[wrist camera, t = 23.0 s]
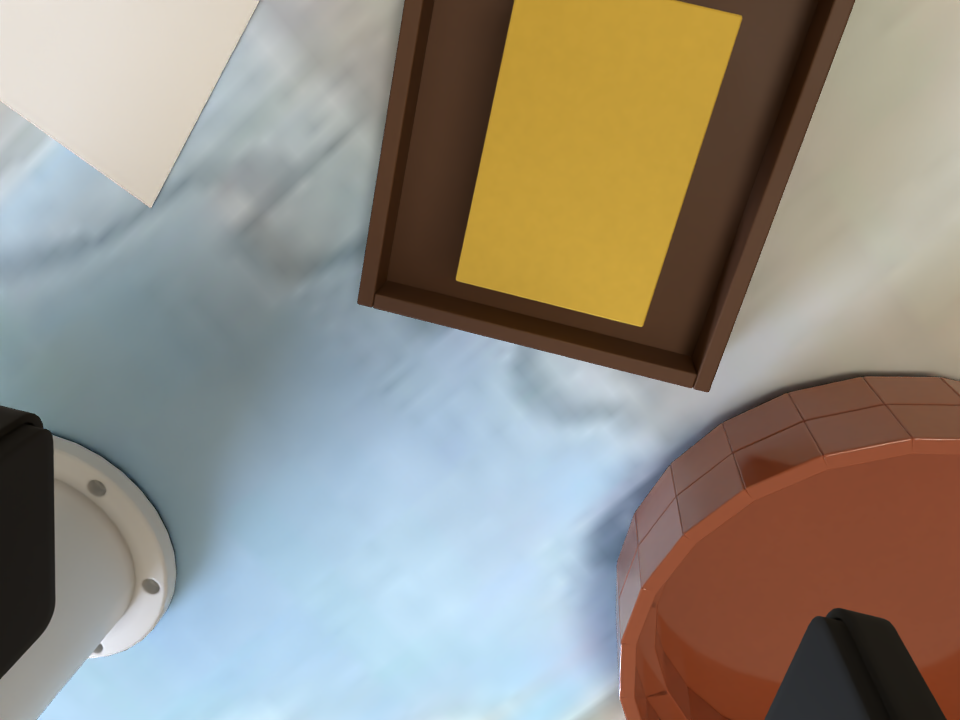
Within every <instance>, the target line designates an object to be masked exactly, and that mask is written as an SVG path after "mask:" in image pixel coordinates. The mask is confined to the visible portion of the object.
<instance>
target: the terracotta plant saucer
mask: <svg viewBox="0 0 960 720" xmlns="http://www.w3.org/2000/svg"><path fill="white" fill-rule="evenodd" d="M834 608H842V609H847V610H851V611H855V612H859V613H863V614H867V615H871V616H876V617H880V618H884V619H886V620H888V621H890V622H891V624H892V625H893V626H894V627H895V629H896V631H897V633H898V634H899V636H900V638H901V640H902V641H903V643H904V645H905V647H906V648H907V650H908V652H909V654H910V656H911V657H912V659H913V661H914V663H915V664H916V666H917V668H918V670H919V671H920V673H921V675H922V677H923V678H924V680H925V682H926V684H927V686H928V687H929V689H930V691H931V693H932V694H933V696H934V698H935V700H936V701H937V703H938V705H939V707H940V708H941V710H942V712H943V714H944V716H945V717H946V719H947V720H960V382H959V381H955V380H951V379H947V378H943V377H940V378H939V377H879V376H864V377H863V378H862V377H857V378H853V379H848V380H843V381H839V382H834V383H829V384H825V385H820V386H815V387H811V388H806V389H802V390H797V391H792V392H789V394H788V393H785V394H783V395H781V396H779V397H776V398H774V399H772V400H770V401H768V402H766V403H764V404H761V405H759V406H757V407H755V408H753V409H751V410H748V411H746V412H744V413H742V414H740V415H738V416H736V417H733V418H731V419H729V420H727V421H725V422H723V424H722V423H721V424H720V425H719V426H717V427H716V428H715V429H713V430H712V431H711V432H710V433H708V434H707V435H706V436H705V437H703V438H702V439H701V440H700V441H698V442H697V443H696V444H695V445H693V446H692V447H691V448H690V449H688V450H687V451H686V452H685V453H683V454H682V455H681V456H680V457H678V458H677V459H676V460H674V461H673V462H672V463H671V465H669V467H668V468H667V469H666V471H665V472H664V473H663V475H662V476H661V478H660V479H659V480H658V482H657V483H656V484H655V486H654V487H653V488H652V490H651V491H650V492H649V494H648V495H647V496H646V498H645V499H644V501H643V502H642V503H641V505H640V506H639V507H638V509H637V510H636V512H635V513H634V516H633V519H632V521H631V524H630V527H629V530H628V533H627V535H626V538H625V541H624V544H623V547H622V549H621V552H620V555H619V558H618V561H617V579H616V629H617V656H618V682H619V698H620V701H621V704H622V707H623V711H624V714H625V717H626V720H764V719H765V717H766V715H767V713H768V711H769V709H770V706H771V704H772V702H773V700H774V698H775V696H776V694H777V691H778V689H779V687H780V685H781V683H782V681H783V679H784V676H785V674H786V672H787V670H788V668H789V666H790V664H791V662H792V659H793V657H794V655H795V653H796V651H797V649H798V647H799V644H800V642H801V640H802V638H803V636H804V634H805V632H806V630H807V627H808V625H809V624H810V622H811V620H812V619H813V618H815V617H816V616H822V617H826V615H827V614H828V613H829V612H830V611H831V610H832V609H834Z"/></svg>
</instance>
